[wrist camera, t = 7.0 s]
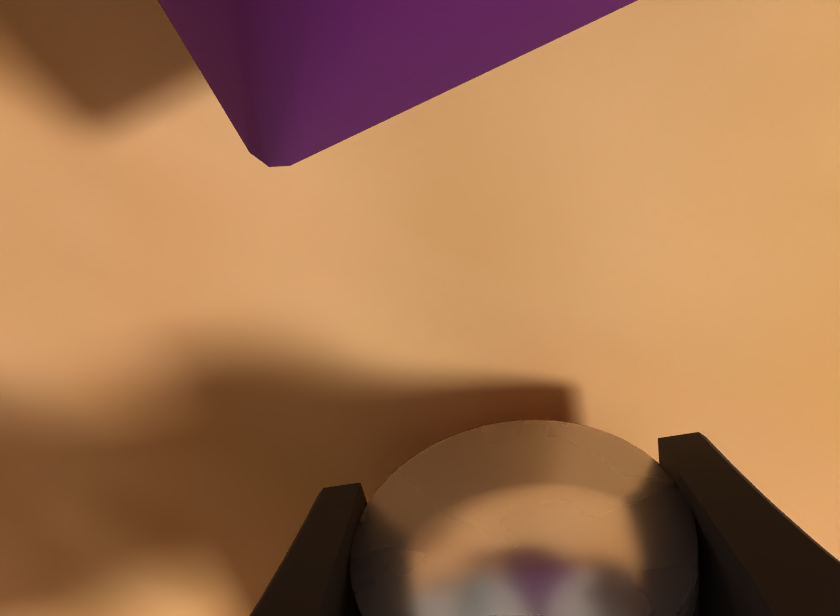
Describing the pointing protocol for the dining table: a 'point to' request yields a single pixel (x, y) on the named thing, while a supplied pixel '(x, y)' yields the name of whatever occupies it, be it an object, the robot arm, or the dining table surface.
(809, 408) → the dining table surface
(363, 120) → the perfume bottle
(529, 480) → the silver copper cylinder
